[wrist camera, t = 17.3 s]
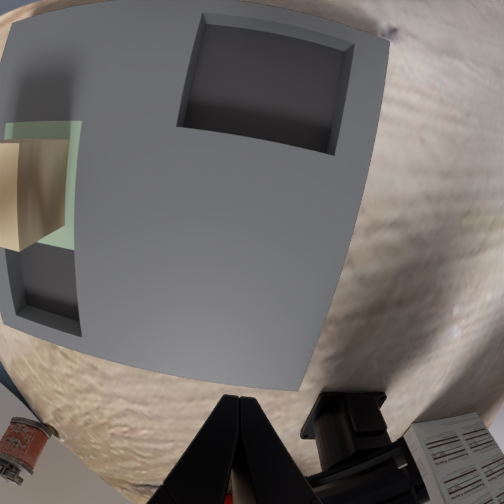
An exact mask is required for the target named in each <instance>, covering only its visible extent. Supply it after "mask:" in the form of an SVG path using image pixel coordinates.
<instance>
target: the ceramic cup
mask: <svg viewBox="0 0 504 504" xmlns="http://www.w3.org/2000/svg"><path fill="white" fill-rule="evenodd" d="M224 504H233V495H226V497H225V502H224Z"/></svg>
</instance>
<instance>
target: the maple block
mask: <svg viewBox="0 0 504 504" xmlns="http://www.w3.org/2000/svg"><path fill="white" fill-rule="evenodd" d="M69 143H70V139H7V140H0V247H3V248H7V249H10V250H14V251H18V252H20V251H22V250H23V249H25V248H27V247H28V246H30V245H32V244H33V243H35V242H37V241H38V240H40V239H42V238H44V237H45V236H47V235H49V234H51V233H52V232H54V231H56V230H58V229H60V228H61V227H63V226H65V194H66V175H67V163H68V152H69Z"/></svg>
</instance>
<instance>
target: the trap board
mask: <svg viewBox="0 0 504 504" xmlns="http://www.w3.org/2000/svg"><path fill="white" fill-rule="evenodd" d="M389 47H390V41H387V40H385V39H383V38H380V37H378V36H375V35H373V34H370V33H367V32H365V31H362V30H359V29H356V28H353V27H350V26H347V25H344V24H341V23H338V22H335V21H332V20H328V19H325V18H321V17H317V16H314V15H310V14H306V13H302V12H298V11H293V10H289V9H284V8H279V7H274V6H268V5H262V4H256V3H249V2H242V1H234V0H113V1H105V2H97V3H91V4H85V5H79V6H74V7H69V8H64V9H60V10H56V11H52V12H48V13H44V14H40V15H36V16H33V17H30V18H26V19H23V20H20V21H17V22H14V23H12V26H11V29H10V32H9V35H8V38H7V41H6V44H5V48H4V51H3V55H2V58H1V62H0V140H7V139H70V143H69V152H68V163H67V175H66V194H65V226H63V227H61V228H60V229H58V230H56V231H54V232H52V233H51V234H49V235H47V236H45V237H44V238H42V239H40V240H38V241H37V242H35V243H33V244H32V245H30V246H28V247H27V248H25V249H23V250H22V251H20V252H18V251H14V250H10V249H7V248H3V247H0V312H1V316H2V320H3V324H5V325H7V326H9V327H12V328H14V329H17V330H19V331H22V332H24V333H27V334H29V335H32V336H34V337H37V338H40V339H42V340H45V341H48V342H51V343H54V344H56V345H59V346H62V347H65V348H68V349H71V350H74V351H78V352H81V353H84V354H87V355H91V356H94V357H98V358H101V359H105V360H108V361H112V362H116V363H120V364H123V365H127V366H131V367H136V368H140V369H144V370H148V371H153V372H158V373H162V374H167V375H172V376H177V377H183V378H188V379H194V380H200V381H206V382H213V383H219V384H226V385H234V386H242V387H251V388H260V389H271V390H283V391H298V390H299V388H300V385H301V383H302V381H303V378H304V376H305V373H306V371H307V368H308V366H309V363H310V360H311V358H312V355H313V353H314V350H315V347H316V345H317V342H318V339H319V337H320V334H321V331H322V328H323V325H324V323H325V320H326V317H327V314H328V311H329V308H330V305H331V302H332V299H333V296H334V293H335V290H336V287H337V284H338V281H339V278H340V275H341V271H342V268H343V265H344V261H345V258H346V255H347V251H348V248H349V244H350V241H351V237H352V234H353V230H354V227H355V223H356V219H357V215H358V212H359V208H360V204H361V200H362V196H363V192H364V188H365V183H366V179H367V175H368V170H369V166H370V161H371V157H372V152H373V147H374V142H375V137H376V132H377V127H378V121H379V116H380V110H381V104H382V98H383V92H384V85H385V78H386V71H387V64H388V55H389Z"/></svg>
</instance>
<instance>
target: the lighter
mask: <svg viewBox="0 0 504 504" xmlns="http://www.w3.org/2000/svg"><path fill="white" fill-rule="evenodd" d="M51 435H52V433H51V431H50V430H49V429H48V428H47V427H46V426H45V425H43V424H42V423H39V422H36V421H34V420H30V419H26V418H21V417H13V418H12V420H11V421H10V426H9V427H8V429H7V430H6V432H5V434H4V435H3V437H2V439H1V441H0V478H2V480H4V481H5V482H11V483H13V484H15V485H17V486H19V485H20V486H21V485H22V482H23V479H22V478H21V477H20V476H19V473H20V474H23V475H25V476H30V477H32V475H33V473H34V471H33V469H34V467H35V465H36V463H37V461H38V458H39V456H40V454H41V452H42V450H43V448H44V446H45V444H46V442H47V440H49V439H50V437H51Z"/></svg>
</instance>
